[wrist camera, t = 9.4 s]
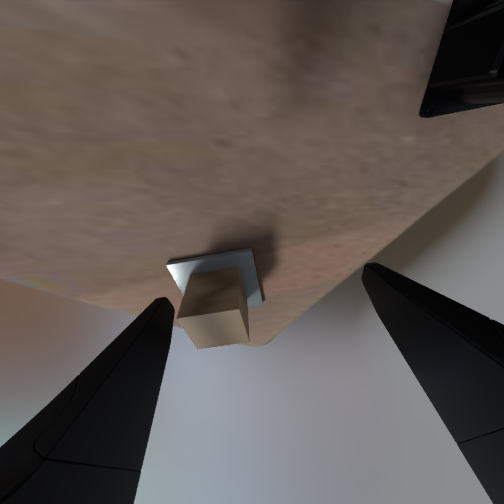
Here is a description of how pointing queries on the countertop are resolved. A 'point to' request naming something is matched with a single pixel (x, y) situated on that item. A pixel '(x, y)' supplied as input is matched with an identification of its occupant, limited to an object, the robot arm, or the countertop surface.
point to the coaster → (220, 262)
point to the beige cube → (215, 309)
